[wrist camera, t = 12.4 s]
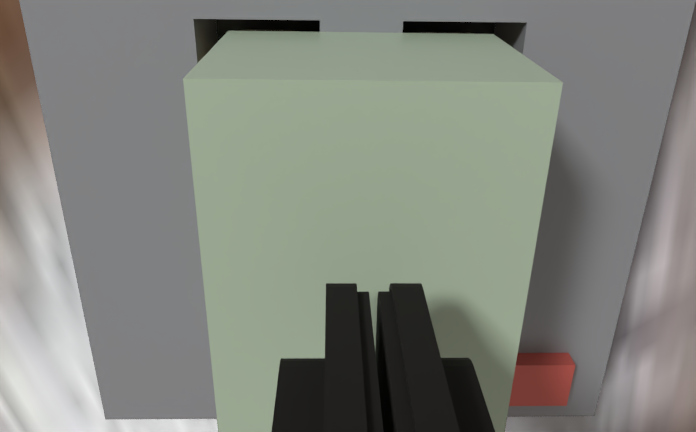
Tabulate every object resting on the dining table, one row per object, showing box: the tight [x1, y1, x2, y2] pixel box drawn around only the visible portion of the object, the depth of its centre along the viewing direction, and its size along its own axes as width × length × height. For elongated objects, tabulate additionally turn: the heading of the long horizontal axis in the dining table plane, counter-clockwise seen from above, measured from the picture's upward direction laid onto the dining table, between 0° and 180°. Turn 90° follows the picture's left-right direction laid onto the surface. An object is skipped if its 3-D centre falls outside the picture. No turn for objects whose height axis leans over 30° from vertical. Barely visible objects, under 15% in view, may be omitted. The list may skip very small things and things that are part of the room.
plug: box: [183, 29, 563, 432], centre depth 16 cm, size 8×7×8 cm
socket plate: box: [19, 0, 696, 419], centre depth 18 cm, size 16×16×4 cm
